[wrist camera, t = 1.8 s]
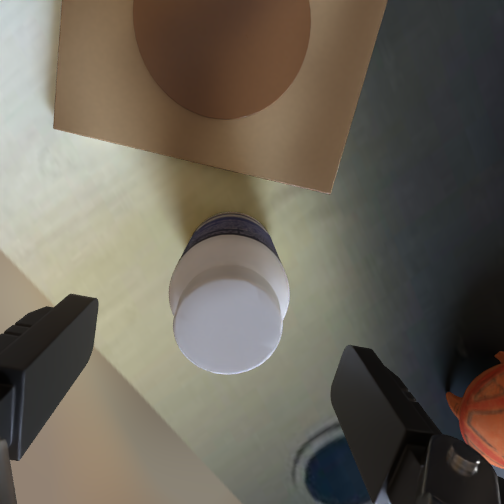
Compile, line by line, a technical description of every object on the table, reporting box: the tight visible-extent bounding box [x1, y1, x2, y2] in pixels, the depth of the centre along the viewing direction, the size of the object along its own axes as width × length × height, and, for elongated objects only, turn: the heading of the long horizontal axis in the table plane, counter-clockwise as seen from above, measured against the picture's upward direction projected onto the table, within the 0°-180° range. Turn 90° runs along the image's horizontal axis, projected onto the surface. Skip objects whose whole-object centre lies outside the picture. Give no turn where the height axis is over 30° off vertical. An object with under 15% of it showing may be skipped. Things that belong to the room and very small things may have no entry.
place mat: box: [53, 0, 388, 194], centre depth 17 cm, size 16×14×1 cm
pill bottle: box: [169, 212, 290, 374], centre depth 16 cm, size 5×5×10 cm
